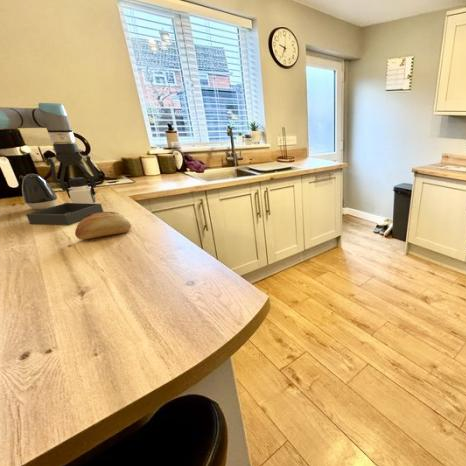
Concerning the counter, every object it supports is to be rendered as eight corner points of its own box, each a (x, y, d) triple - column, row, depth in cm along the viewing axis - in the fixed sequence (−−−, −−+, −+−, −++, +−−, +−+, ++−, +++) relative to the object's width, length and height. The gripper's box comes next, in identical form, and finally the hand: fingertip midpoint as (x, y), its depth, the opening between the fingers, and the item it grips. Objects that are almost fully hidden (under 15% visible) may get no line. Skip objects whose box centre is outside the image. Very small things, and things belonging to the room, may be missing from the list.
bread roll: (75, 237, 98) (67, 215, 95) (128, 226, 108) (122, 206, 105) (79, 245, 92) (71, 222, 89) (135, 233, 102) (129, 211, 99)
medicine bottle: (94, 205, 131) (86, 178, 126) (73, 207, 127) (64, 180, 122) (96, 201, 136) (88, 176, 132) (76, 203, 132) (67, 177, 128)
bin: (30, 224, 110) (25, 214, 108) (69, 211, 124) (66, 202, 123) (68, 225, 109) (64, 215, 107) (103, 212, 123) (100, 203, 122)
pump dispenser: (44, 204, 134) (31, 171, 128) (66, 205, 133) (54, 172, 128) (20, 211, 124) (5, 175, 119) (43, 211, 124) (29, 176, 118)
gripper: (28, 144, 112) (50, 201, 121) (96, 142, 125) (111, 193, 134) (30, 143, 118) (51, 197, 126) (95, 141, 130) (110, 190, 139)
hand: (82, 195), depth 130 cm, fingers closed on medicine bottle, 8 cm apart
